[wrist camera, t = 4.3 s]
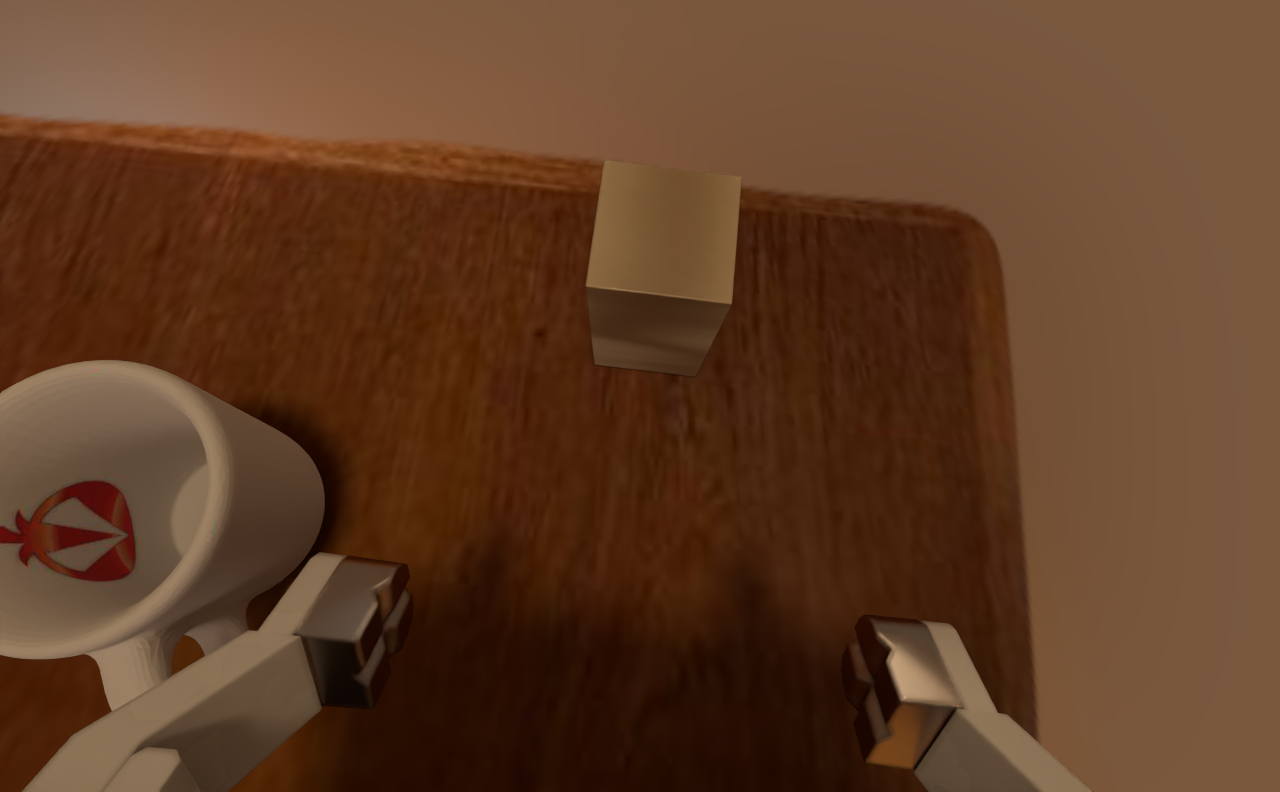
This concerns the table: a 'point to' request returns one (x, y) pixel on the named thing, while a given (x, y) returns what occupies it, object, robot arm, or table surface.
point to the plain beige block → (661, 266)
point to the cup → (140, 518)
